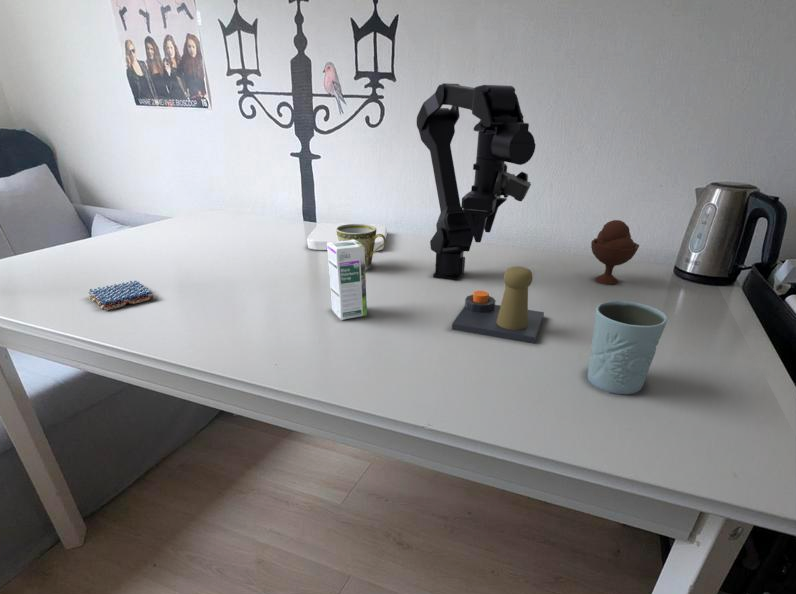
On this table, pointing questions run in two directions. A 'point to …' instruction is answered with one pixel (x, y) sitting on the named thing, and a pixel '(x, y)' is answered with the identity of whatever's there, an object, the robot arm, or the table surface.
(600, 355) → the light blue embossed pot
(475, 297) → the button
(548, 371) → the table surface
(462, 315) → the dark grey base plate
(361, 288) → the syrup box
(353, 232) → the ceramic cup
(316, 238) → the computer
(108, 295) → the woven mat
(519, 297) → the cork
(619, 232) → the ice cream bowl
